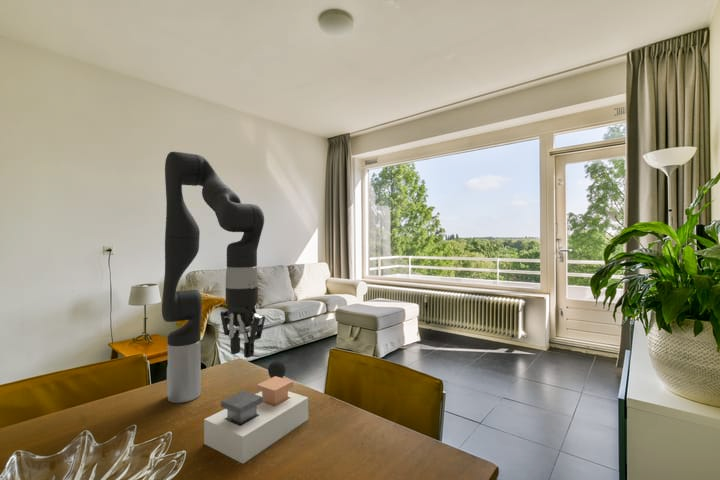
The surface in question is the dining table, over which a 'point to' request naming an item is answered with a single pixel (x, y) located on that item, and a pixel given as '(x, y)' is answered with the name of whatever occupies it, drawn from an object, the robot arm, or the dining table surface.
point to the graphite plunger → (241, 407)
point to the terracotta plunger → (275, 390)
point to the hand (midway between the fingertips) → (242, 354)
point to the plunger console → (255, 428)
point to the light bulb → (277, 369)
